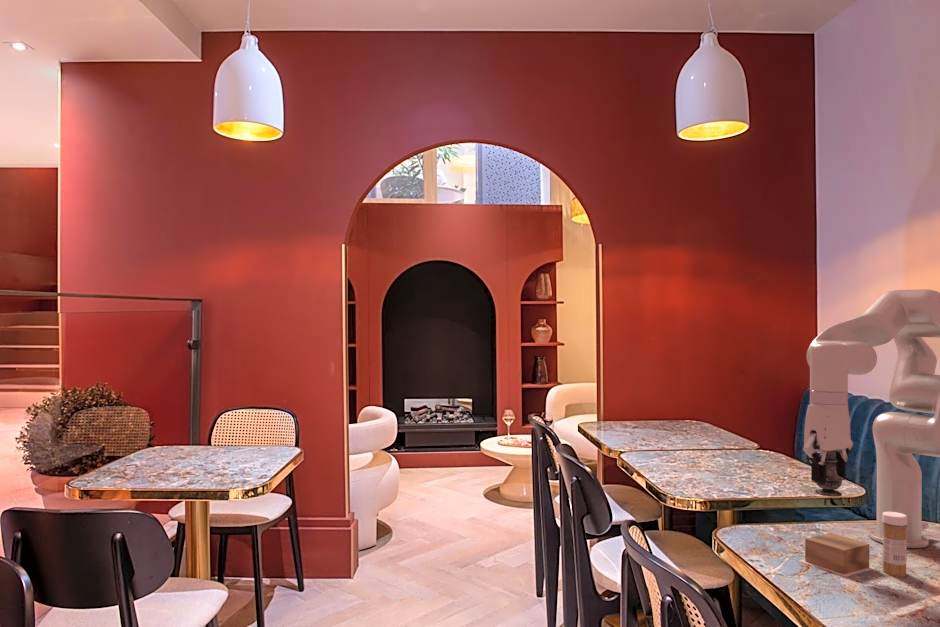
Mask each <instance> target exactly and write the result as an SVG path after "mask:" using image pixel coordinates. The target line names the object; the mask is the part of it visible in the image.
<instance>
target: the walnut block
mask: <svg viewBox="0 0 940 627" xmlns="http://www.w3.org/2000/svg"><path fill="white" fill-rule="evenodd" d="M804 540H805V541H804V542H805V543H804V544H805V545H804V546H805V547H804V549H805V550H804V559H805V561H806V562H809V563H812V564H815V565H818V566H821V567H824V568H827V569H830V570H832V571H835V572H838V573H841V574H847V573H850V572H854V571H858V570H861V569H865V568H869V566H870V543H866V542H863V541H859V540H856V539H853V538H851V537H846V536H842V535H839V534H836V533H832V532H829V533H825V534H820V535H815V536H812V537H811V536H810V537H807V538H805V539H804Z"/></svg>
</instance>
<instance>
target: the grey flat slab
mask: <svg viewBox="0 0 940 627" xmlns="http://www.w3.org/2000/svg"><path fill="white" fill-rule="evenodd" d="M798 562H801V563H804V564H805V565H810V566H813V567H816V568H818V569H821V570H824V571H827V572H830V573H833V574H836V575H838V576H841V577H844V578H846V577H849V576H854V575H858V574H861V573H865V572H868V571H872V570H876V569H877V567H875V566H871V565H869V568H865V569H861V570H858V571H854V572H850V573H847V574H841V573H838V572H835V571H832V570H830V569H827V568H824V567H821V566H818V565H815V564H812V563H809V562H806V561H805V558H803V559H799V560H798Z"/></svg>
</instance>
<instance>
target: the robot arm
mask: <svg viewBox="0 0 940 627" xmlns="http://www.w3.org/2000/svg"><path fill="white" fill-rule="evenodd" d="M923 338H940V291H937V290H934V289H925V288H924V289H893V290H891V291H887V292H885V293H883V294H882V295H880V297H878V298H877V300H875V301H874V303H872V304H871V305H870V306H869V307H868V308H867V309H866V310H865V311H864V312H863V313H862V314H860V315H859V316H855V317H853V318H850V319H847V320H845V321H842V322H839V323H836V324H834V325H832V326H829V327H827V328H825V329H824V330H823V331H822V332H820V333H819V334H818V335H817V336H816V337H815V338H814V339H813V340H812V341H811V342H810V344H809V346H808V348H807V350H806V362H807V365H808V367H809V404H807V409H806V414H805V421H804V431H803V432H804V433H803V434H804V435H803V437H804V438H803V442H804V444H803V447H802V451H804V453H805V454H806V456H807V458H808V459H809V463H810V464H811V468H810V469H811V471H810V473H811V474H810V475H811V481H812V482H815V483H816V482H819V483H826V465H823V464H824V461H825V457H826V453H827V452H829V451H836V460H838V462H836V471H837V475H838V476H840V477H842V478H843V480H842V481H844V480H847V477H846V474H847V466H846V465H847V461H848V458H849V457H848V455H849V454H850V451H851V449H852V448H853V446H854V442H853V440H852V438H851V437H852V436H851V434H852V433H851V430H852V429H851V418H850V410H849V391H848V390H849V375H851V376H854V375H855V376H861V375H866V374H869V373H871V372H872V371H873V370H874V369H875V368H876V365H877V363H878V355H877V352H876V350H875V349H874V347H878V346H882V345H885V344H888V343H889V342H891V341H892V340H894V343H895V346H896V350H897V357H896V358H897V360H896V363H895V368H894V371H893V372H894V373H893V375H892V376H893V377H892V380H891V383H890V388H889V395H888V396H889V397H888V398H889V403H890V404H891V405H892V406H893V407H894V408H897V409H900V410H902V411H903V410H904V411H908V412H901V411H887V412H882V413H880V414H878V415H877V416H876V417H875V418H874V421H873V424H872V436H873V437H872V438H873V442H874V446H875V454H876V455H875V456H876V526H875V528H872V529H871V530H869V533H868V535H869V538H870V539H872V540H873V541H875V542H878V543H880V544H883V521H882V513H883V512H898V513H902V514H905V515H906V516H907V527H906V548H907V549H922V548H923V549H924V548H927V547H928V546H929V543H930V542H929V539H928V538H927V537H926V536H924V535H922V531H924V530H927V529H929V527H930V525H929V523H928V522H927V521H925V520H923V521H922V505H923V504H922V499H923V496H922V494H923V492H922V488H923V487H922V486H923V485H922V484H923V481H922V479H923V478H922V477H923V475H922V474H923V473H922V469H921V466H920V465H919V464H920V463H919V462H918V461H917V459H916V457H915V456H914V455H915V454H916V455H922V456H926V457H927V456H929V457H935V458H940V374H935V373H936V368H937V364H938V358H937V355H936V354H935V352H934V350H933V348H931V347H930V345H929V344H928V343H926V341H925V340H924V339H923ZM909 412H918V413H927V414H933V415H924V414H916V413H909ZM818 454H819V455H818Z"/></svg>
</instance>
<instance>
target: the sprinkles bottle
mask: <svg viewBox="0 0 940 627" xmlns="http://www.w3.org/2000/svg"><path fill="white" fill-rule="evenodd" d="M882 521H883V543H882V572H883V573H884V574H886V575H888V576H891V577H897V578H899V577H900V578H901V577H902V578H903V577H906V576H907V549H908V548H906V527H907V516H906V515H905V514H902V513H898V512H883V513H882Z"/></svg>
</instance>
